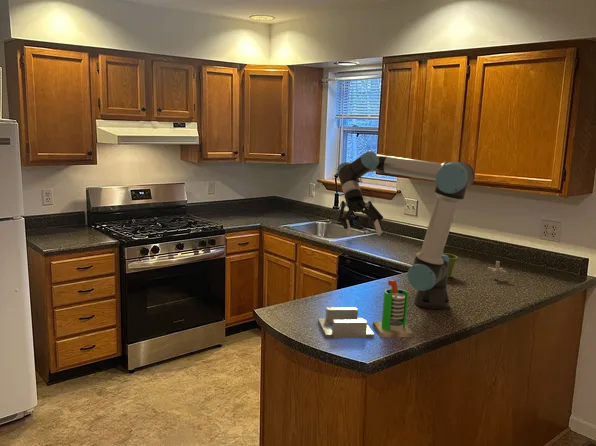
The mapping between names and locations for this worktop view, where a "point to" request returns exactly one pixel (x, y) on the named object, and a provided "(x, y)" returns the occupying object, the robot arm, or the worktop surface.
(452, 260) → the plant pot
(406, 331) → the board
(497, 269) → the pipe connector
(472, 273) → the worktop surface
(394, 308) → the green-shelled ribbed roller
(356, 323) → the vise
